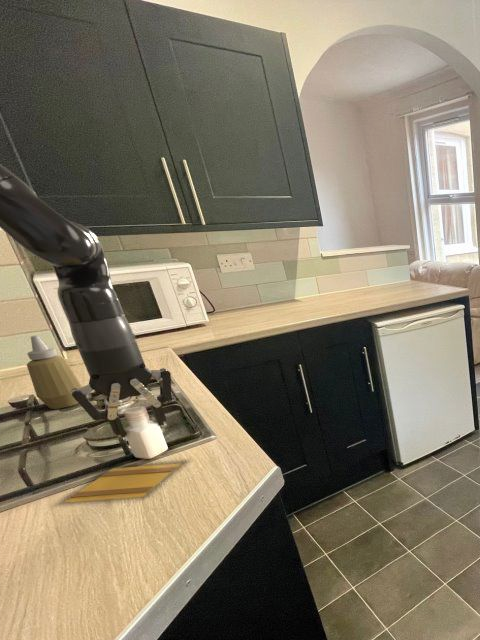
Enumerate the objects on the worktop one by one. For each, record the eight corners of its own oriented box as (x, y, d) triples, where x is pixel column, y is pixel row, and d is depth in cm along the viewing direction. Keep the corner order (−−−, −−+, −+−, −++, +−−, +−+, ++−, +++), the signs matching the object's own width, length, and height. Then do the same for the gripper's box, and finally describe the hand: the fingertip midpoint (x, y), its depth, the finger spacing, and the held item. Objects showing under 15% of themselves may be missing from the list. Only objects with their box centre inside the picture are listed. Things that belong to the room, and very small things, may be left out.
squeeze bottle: (54, 413, 101) (20, 342, 95) (36, 409, 104) (1, 339, 98) (95, 400, 108) (65, 333, 102) (77, 396, 111) (47, 330, 104)
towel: (65, 505, 68) (63, 502, 67) (113, 471, 77) (112, 467, 77) (143, 499, 69) (142, 496, 68) (182, 466, 78) (181, 462, 78)
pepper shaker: (150, 460, 79) (132, 415, 75) (133, 458, 80) (114, 413, 76) (170, 449, 82) (153, 405, 79) (153, 447, 83) (136, 404, 80)
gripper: (153, 331, 80) (181, 411, 86) (46, 349, 70) (87, 438, 76) (163, 337, 76) (193, 421, 82) (51, 357, 65) (94, 452, 72)
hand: (142, 429), depth 79 cm, fingers closed on pepper shaker, 5 cm apart
